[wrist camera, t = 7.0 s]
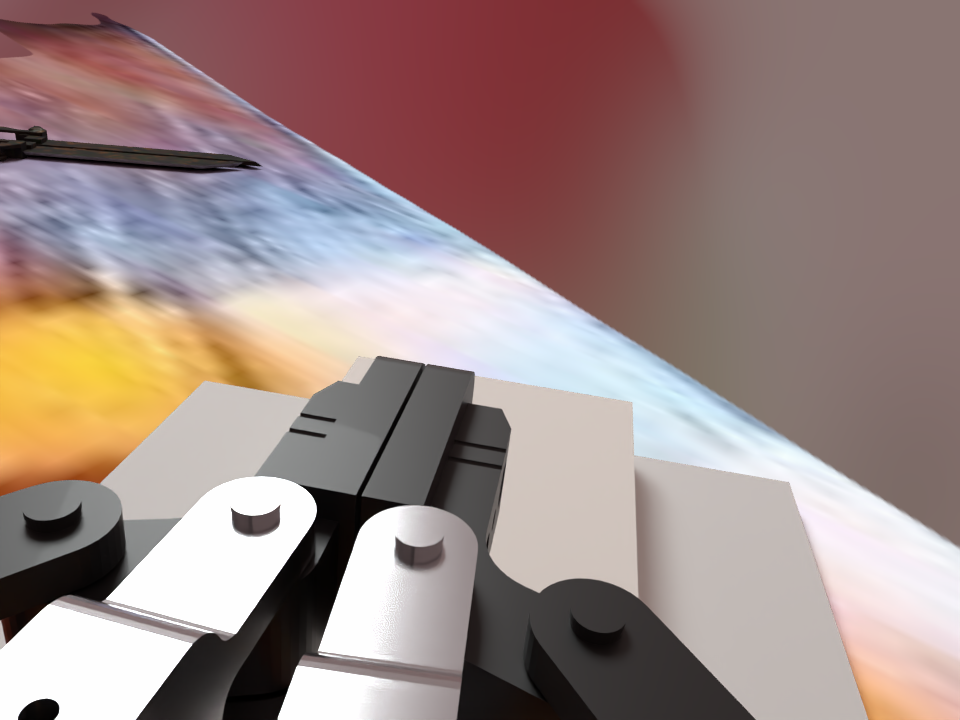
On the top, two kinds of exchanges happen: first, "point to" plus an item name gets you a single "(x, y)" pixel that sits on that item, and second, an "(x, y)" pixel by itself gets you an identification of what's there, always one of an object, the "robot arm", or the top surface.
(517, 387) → the tile
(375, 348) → the top surface
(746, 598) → the mat
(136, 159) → the knife
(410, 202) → the top surface
